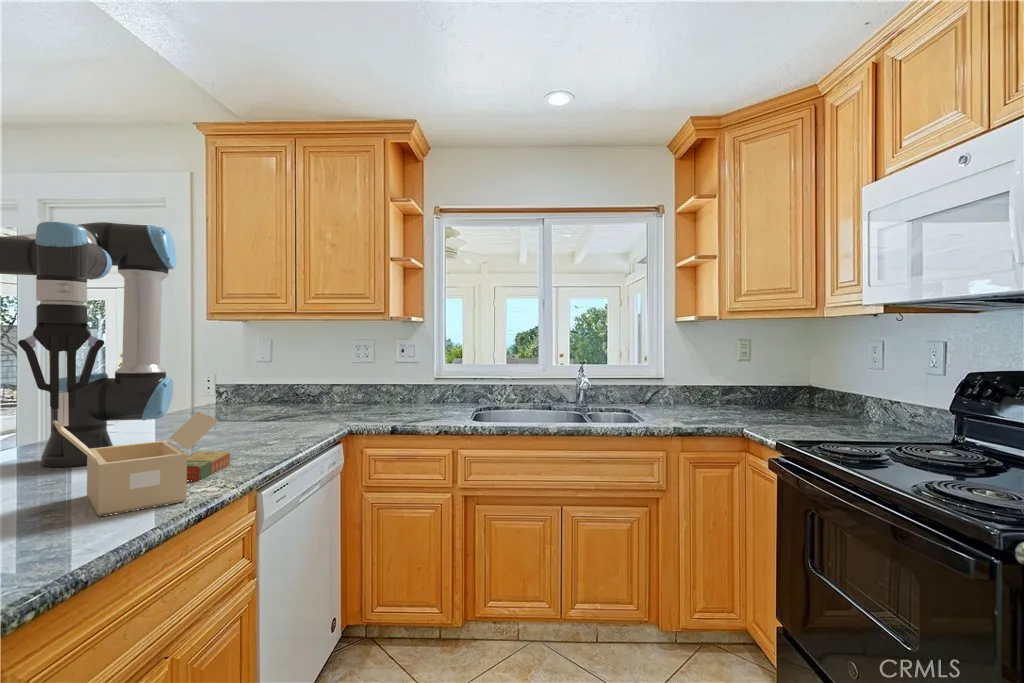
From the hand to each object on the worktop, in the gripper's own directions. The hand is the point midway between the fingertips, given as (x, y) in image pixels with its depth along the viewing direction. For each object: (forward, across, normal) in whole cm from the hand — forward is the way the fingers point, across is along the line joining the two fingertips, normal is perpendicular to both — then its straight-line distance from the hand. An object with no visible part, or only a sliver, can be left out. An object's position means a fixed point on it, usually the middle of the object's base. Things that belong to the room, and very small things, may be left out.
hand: (63, 425), depth 102 cm
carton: (+18, +27, +14) cm, 35 cm away
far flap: (+3, +22, 0) cm, 22 cm away
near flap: (+3, +2, 0) cm, 3 cm away
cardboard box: (+17, +12, 0) cm, 21 cm away
